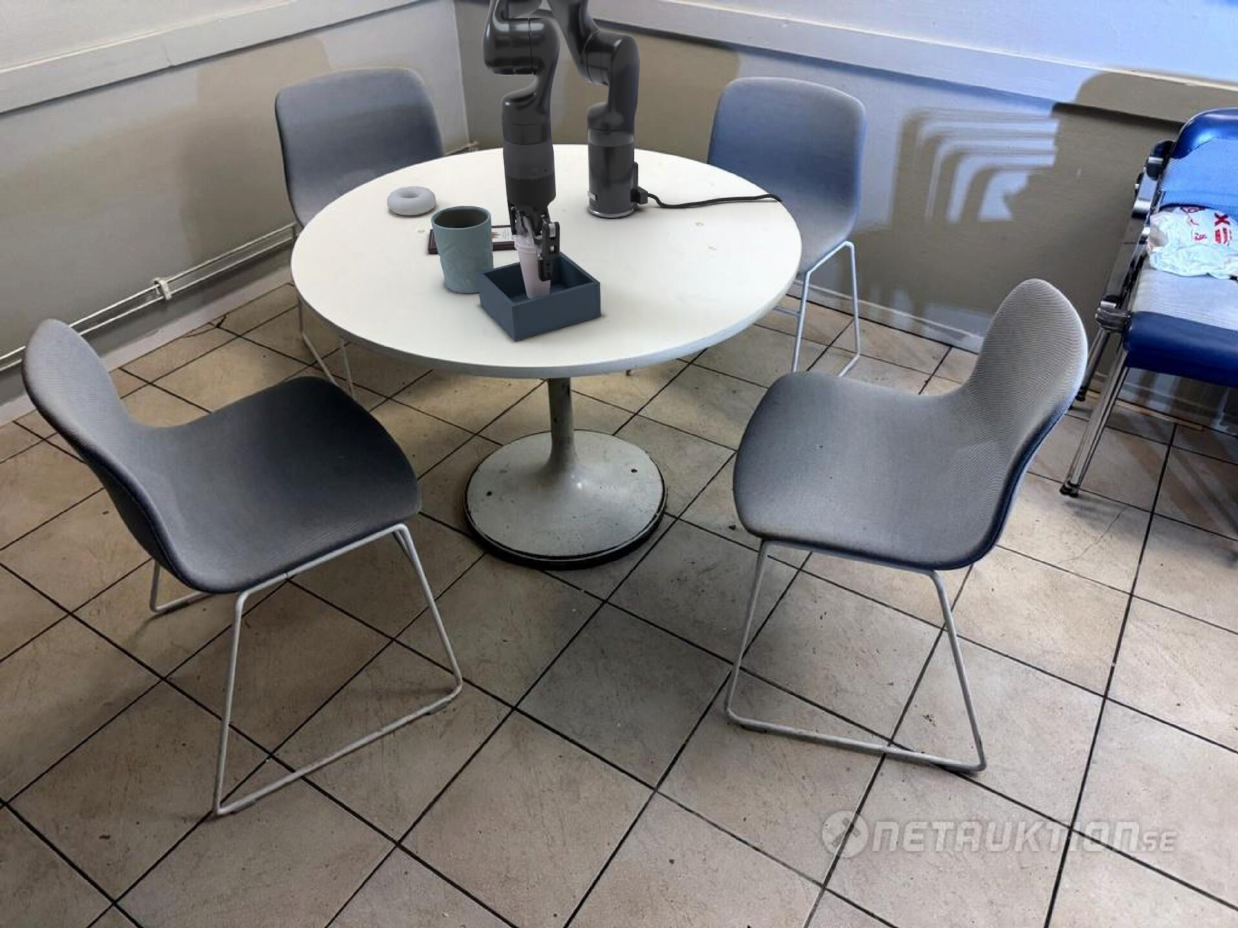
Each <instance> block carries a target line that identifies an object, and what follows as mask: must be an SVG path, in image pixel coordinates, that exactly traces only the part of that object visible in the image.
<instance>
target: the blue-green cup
mask: <svg viewBox="0 0 1238 928" xmlns="http://www.w3.org/2000/svg"><path fill="white" fill-rule="evenodd" d="M430 223H431V229H433V232H434V236H435V241H436V245H437V249H438V253H437V254H438V256H439V263H440V266H441V270H442V273H443V274H442V275H443V278H444V283H445V286H446V288H447V289H448V290H450V291H451V292H455V293H458V294H475V293H479V287H478V279H477V273H478V272H481V271H485V270H489V269H493V268H495V266H494V265H495V264H494V253H493V251H494V250H493V243H492V226H493V225H492V214H491V212H490V211H489V210H488V209H486V208H484V207H480V206H477V205H476V206H475V205H456V206H451V207H446V208H444V209H443V208H442V209H440V210H438V211H436V212H434V213H433V215H431V217H430Z"/></svg>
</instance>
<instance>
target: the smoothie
mask: <svg viewBox="0 0 1238 928" xmlns="http://www.w3.org/2000/svg"><path fill="white" fill-rule="evenodd" d="M536 239H542V235H541V236H536ZM514 241H515V245H514V246H515V249H516V250H517V255H518V261H519V262H520V265H521V269H522V274H523V279H524V283H525V288H526V293H527V296H528V297H529V298H530V299H533V298H536V297H540V296H544V295H547V294H550V280H548V281H544V282H542V281H541V280H540V279H539V273H538V257H537V253H536V248H535V246H533V245H531V242H530V238H529V234H528V232H526V233H524V234H523V235H520V234H519V235H518V236H516V238H515V240H514ZM540 246H541V250H542V244H541V245H540ZM553 248H554V246H553Z"/></svg>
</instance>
